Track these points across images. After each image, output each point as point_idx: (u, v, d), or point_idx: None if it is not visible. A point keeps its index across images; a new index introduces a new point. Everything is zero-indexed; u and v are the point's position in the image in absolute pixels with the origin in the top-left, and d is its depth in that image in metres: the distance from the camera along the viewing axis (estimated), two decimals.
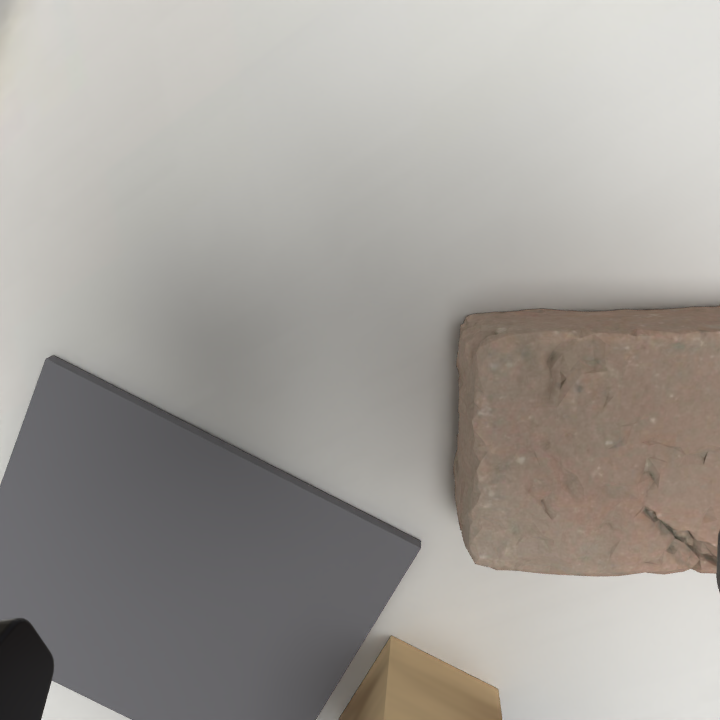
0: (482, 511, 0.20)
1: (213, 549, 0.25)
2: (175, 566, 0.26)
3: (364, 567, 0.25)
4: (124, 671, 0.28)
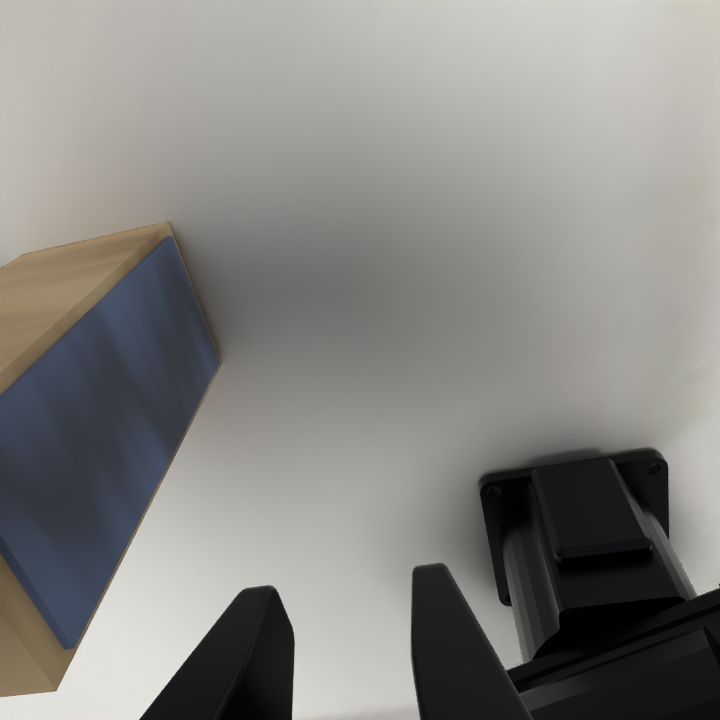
0: None
1: None
2: None
3: None
4: None
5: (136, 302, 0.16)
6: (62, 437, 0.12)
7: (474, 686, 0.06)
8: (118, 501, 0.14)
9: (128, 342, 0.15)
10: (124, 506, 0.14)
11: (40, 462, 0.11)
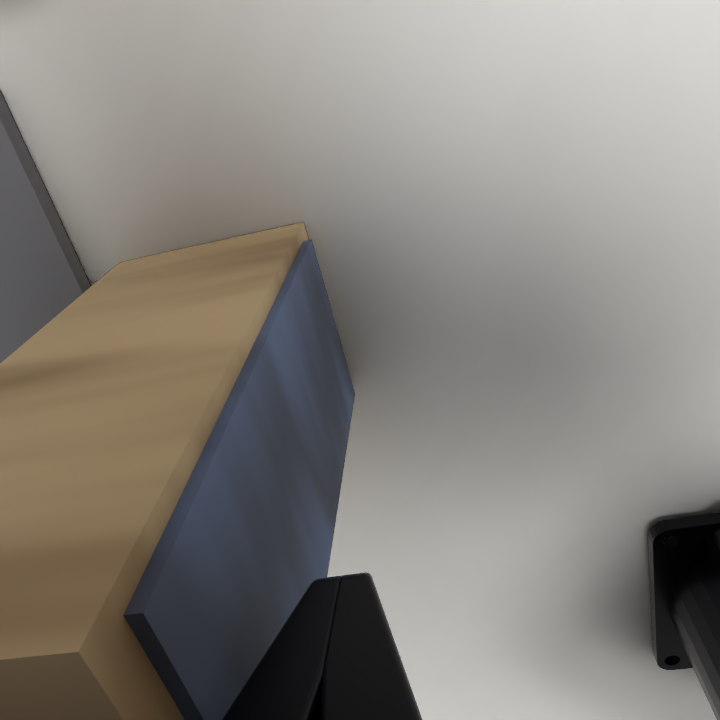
0: None
1: None
2: None
3: None
4: None
5: (293, 328, 0.12)
6: (250, 536, 0.08)
7: (374, 696, 0.06)
8: None
9: (292, 383, 0.12)
10: None
11: (234, 583, 0.08)
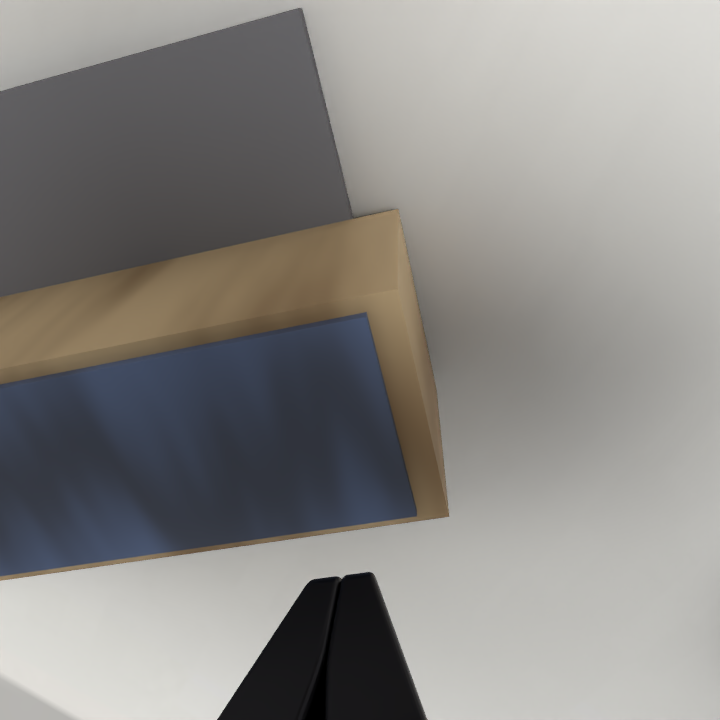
0: None
1: (75, 269, 0.16)
2: None
3: (257, 120, 0.14)
4: None
5: (175, 386, 0.11)
6: None
7: (379, 696, 0.06)
8: (42, 538, 0.13)
9: (131, 422, 0.12)
10: (51, 545, 0.13)
11: None
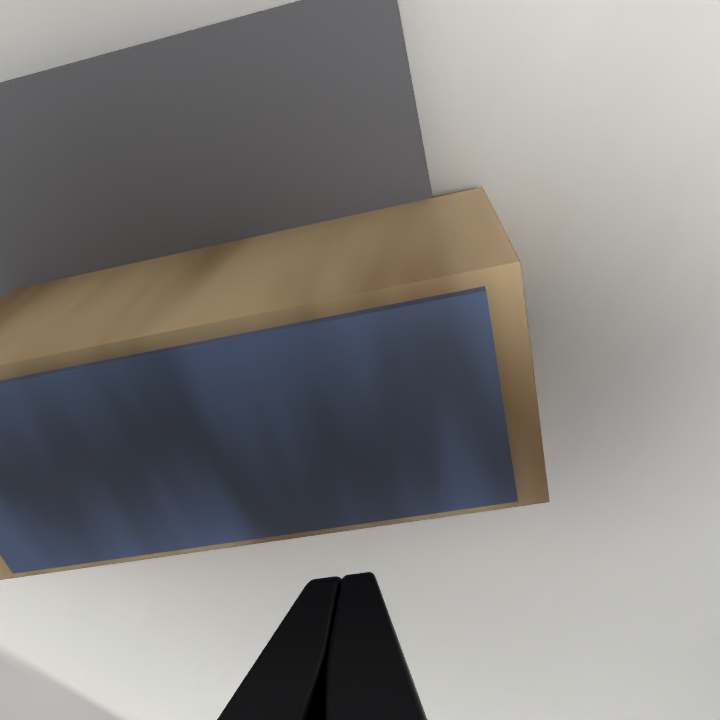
0: None
1: (142, 249, 0.16)
2: None
3: (342, 93, 0.14)
4: None
5: (278, 365, 0.11)
6: (49, 445, 0.12)
7: (379, 696, 0.06)
8: (123, 524, 0.13)
9: (227, 402, 0.11)
10: (132, 532, 0.13)
11: (9, 450, 0.12)
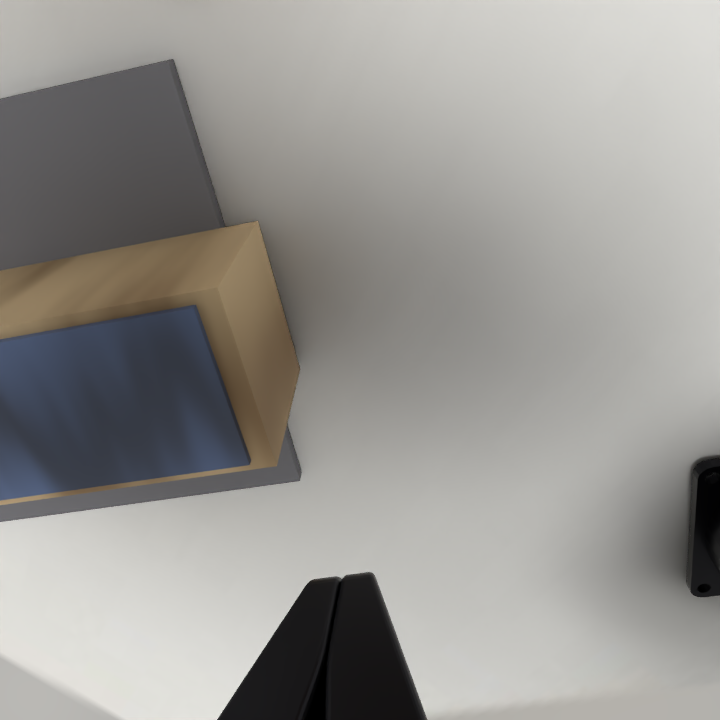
0: None
1: None
2: None
3: (139, 146, 0.17)
4: None
5: (53, 358, 0.15)
6: None
7: (379, 696, 0.06)
8: None
9: (19, 386, 0.15)
10: None
11: None
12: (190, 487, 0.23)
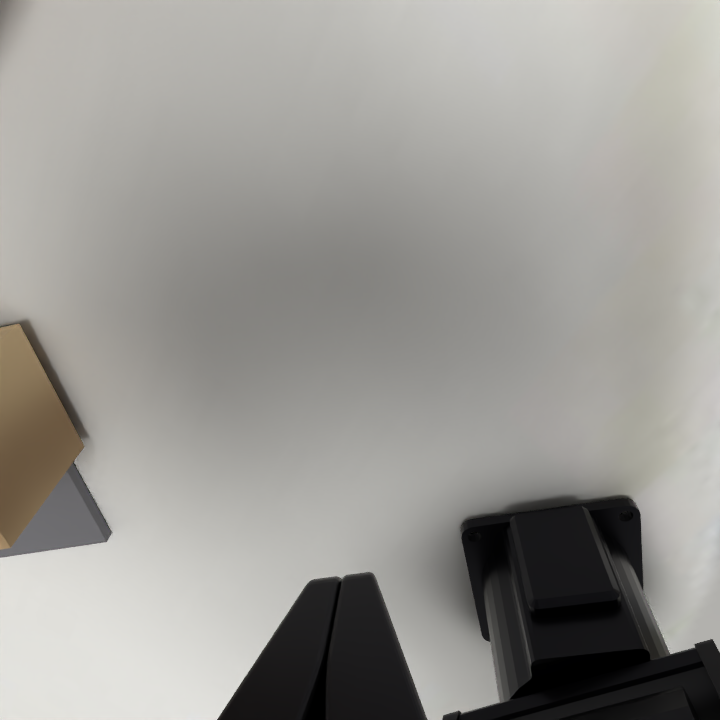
0: None
1: None
2: None
3: None
4: None
5: None
6: None
7: (379, 696, 0.06)
8: None
9: None
10: None
11: None
12: (11, 548, 0.26)
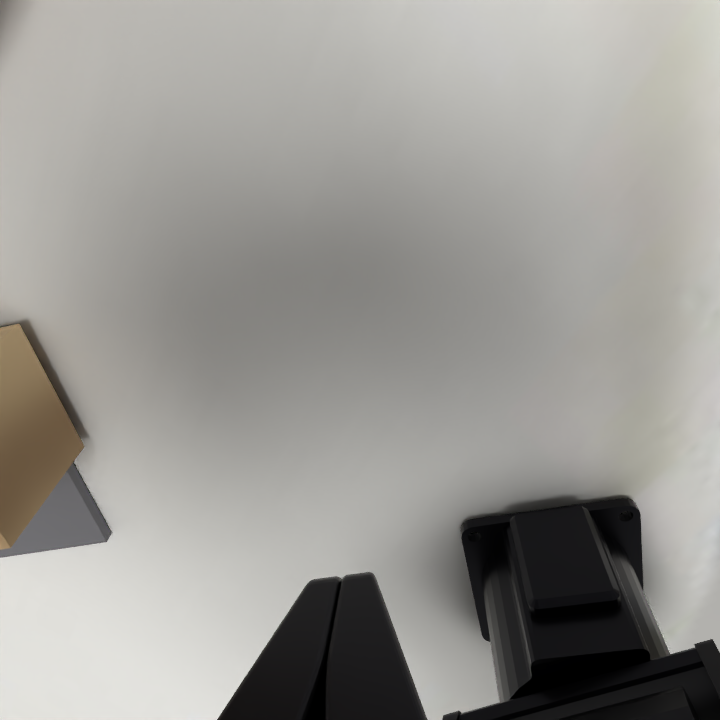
0: None
1: None
2: None
3: None
4: None
5: None
6: None
7: (379, 696, 0.06)
8: None
9: None
10: None
11: None
12: (11, 548, 0.26)
